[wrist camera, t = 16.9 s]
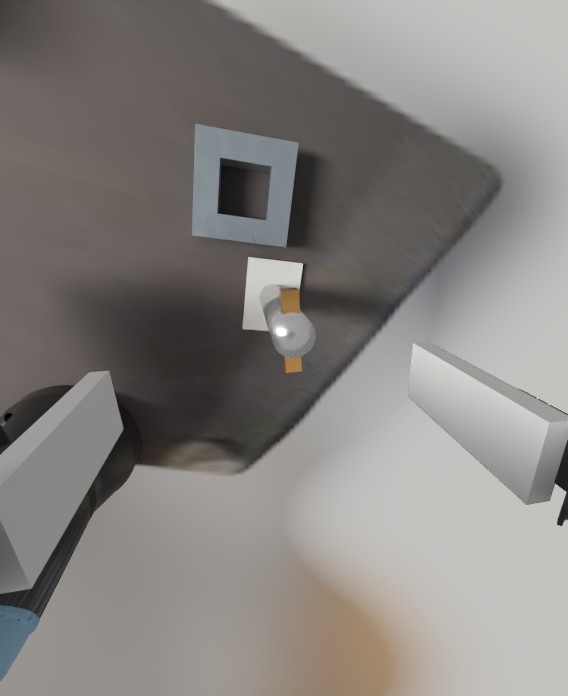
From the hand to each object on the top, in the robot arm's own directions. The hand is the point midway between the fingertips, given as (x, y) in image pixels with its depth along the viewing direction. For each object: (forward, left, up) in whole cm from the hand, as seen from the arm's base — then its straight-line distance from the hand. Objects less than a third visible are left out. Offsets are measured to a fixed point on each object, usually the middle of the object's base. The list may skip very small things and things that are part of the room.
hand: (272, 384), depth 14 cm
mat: (0, -2, -23) cm, 23 cm away
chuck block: (+10, +2, -23) cm, 25 cm away
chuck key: (0, -2, -23) cm, 23 cm away
